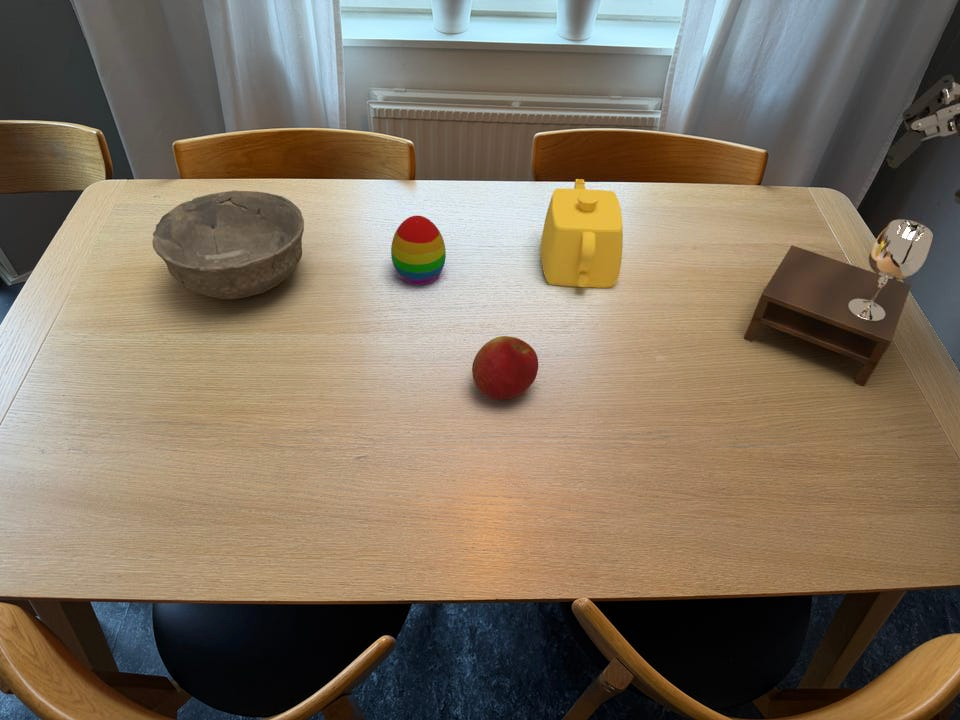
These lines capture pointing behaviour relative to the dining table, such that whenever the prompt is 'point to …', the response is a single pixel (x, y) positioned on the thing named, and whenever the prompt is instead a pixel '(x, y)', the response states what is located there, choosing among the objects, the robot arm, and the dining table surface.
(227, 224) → the bowl
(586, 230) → the teapot
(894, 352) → the dining table surface
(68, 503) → the dining table surface
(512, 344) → the apple
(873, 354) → the shelf
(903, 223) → the wineglass
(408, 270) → the decorative egg
